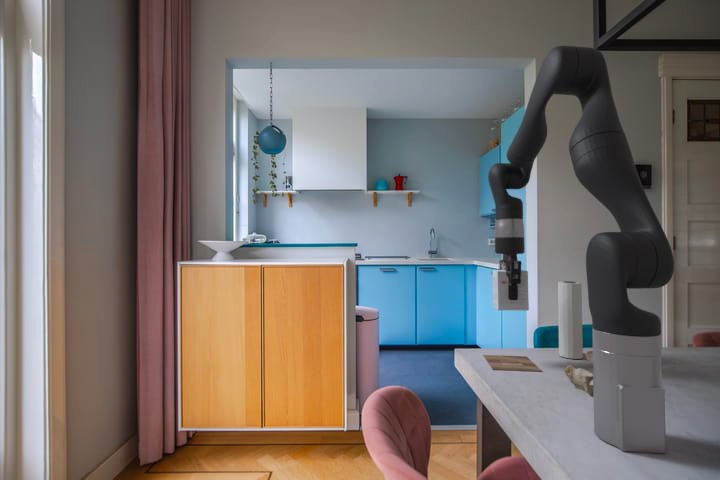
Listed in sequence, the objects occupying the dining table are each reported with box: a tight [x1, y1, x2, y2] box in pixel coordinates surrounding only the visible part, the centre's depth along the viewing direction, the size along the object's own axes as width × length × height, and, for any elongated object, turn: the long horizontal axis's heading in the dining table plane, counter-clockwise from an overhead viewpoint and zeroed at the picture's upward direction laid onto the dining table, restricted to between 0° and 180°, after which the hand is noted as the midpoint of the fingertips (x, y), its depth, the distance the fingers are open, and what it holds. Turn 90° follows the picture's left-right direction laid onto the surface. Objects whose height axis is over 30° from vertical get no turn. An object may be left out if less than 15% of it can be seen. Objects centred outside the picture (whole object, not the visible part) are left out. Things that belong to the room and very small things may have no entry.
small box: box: [492, 269, 530, 311], centre depth 106 cm, size 8×6×10 cm
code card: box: [482, 354, 543, 373], centre depth 106 cm, size 14×12×1 cm
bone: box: [564, 349, 593, 396], centre depth 85 cm, size 9×6×10 cm
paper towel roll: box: [557, 280, 584, 360], centre depth 112 cm, size 7×6×21 cm
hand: (510, 298), depth 106 cm, fingers closed on small box, 5 cm apart
